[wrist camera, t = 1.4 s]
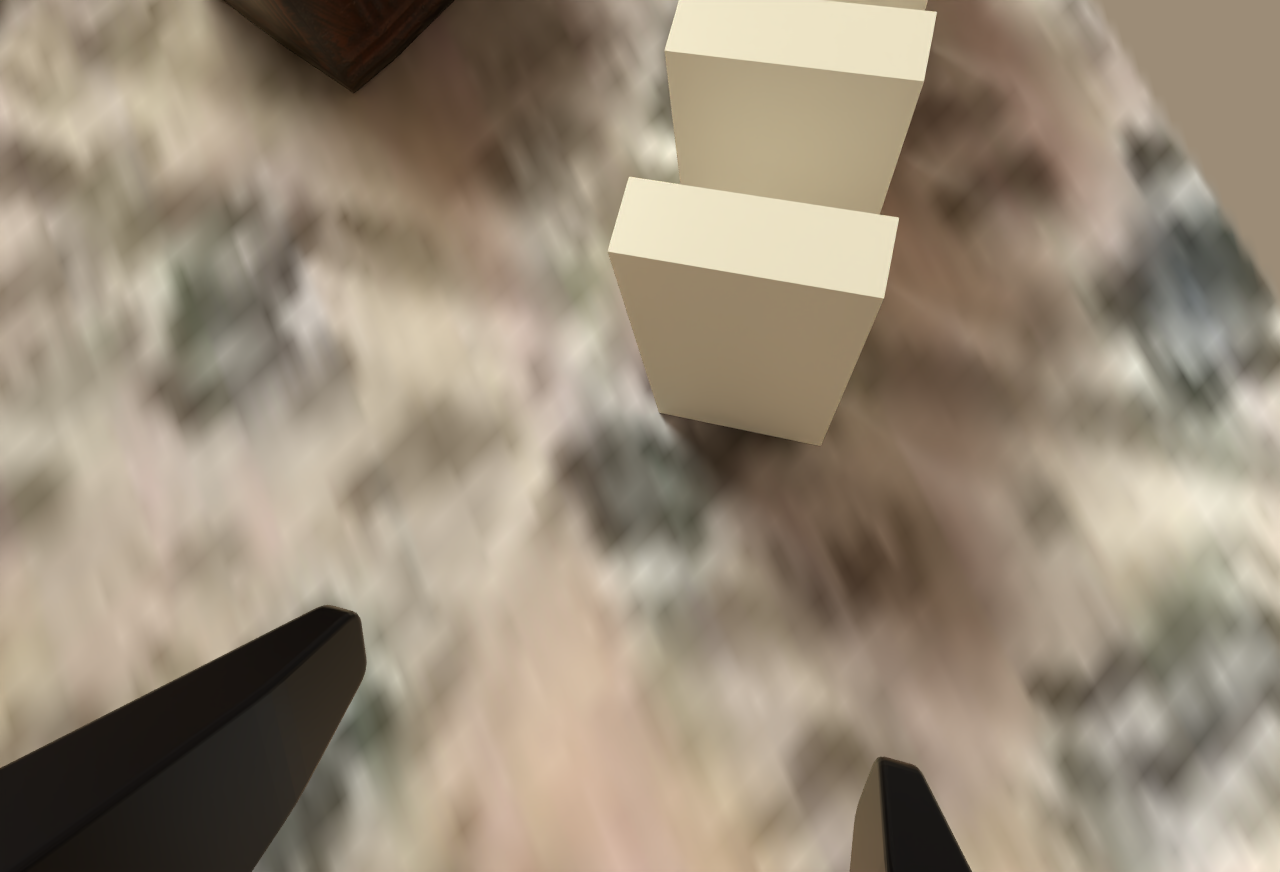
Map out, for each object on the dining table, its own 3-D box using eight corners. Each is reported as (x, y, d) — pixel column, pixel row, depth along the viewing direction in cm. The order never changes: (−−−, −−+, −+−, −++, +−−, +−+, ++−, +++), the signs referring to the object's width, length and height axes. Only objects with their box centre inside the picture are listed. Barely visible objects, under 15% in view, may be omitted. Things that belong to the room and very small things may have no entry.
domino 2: (820, 446, 23) (884, 298, 13) (659, 412, 24) (607, 251, 14) (830, 396, 23) (899, 217, 13) (671, 365, 24) (628, 176, 14)
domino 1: (847, 310, 24) (923, 81, 14) (692, 283, 25) (664, 50, 15) (856, 264, 24) (937, 12, 15) (703, 239, 25) (682, -15, 15)
